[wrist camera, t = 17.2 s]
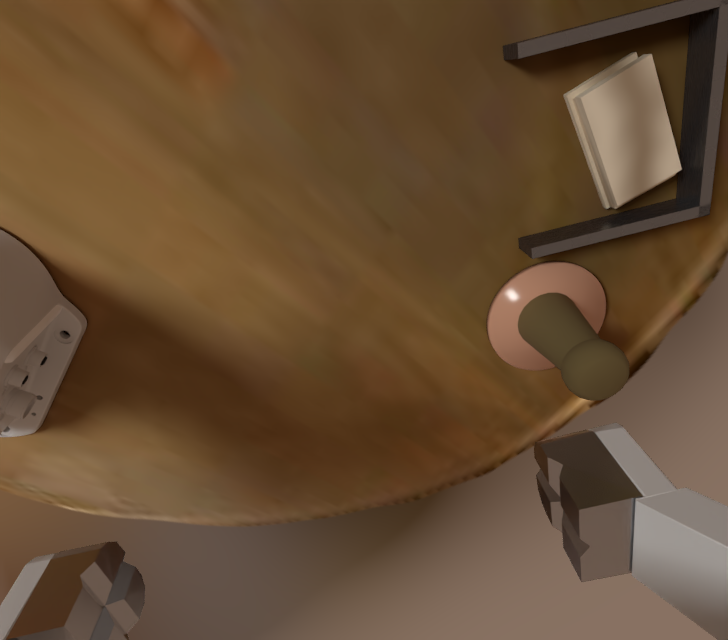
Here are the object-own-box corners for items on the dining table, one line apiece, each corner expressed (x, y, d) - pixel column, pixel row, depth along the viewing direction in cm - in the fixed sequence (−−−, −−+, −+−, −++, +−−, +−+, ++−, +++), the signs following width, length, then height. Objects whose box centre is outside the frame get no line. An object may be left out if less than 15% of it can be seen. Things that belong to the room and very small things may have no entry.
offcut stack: (601, 206, 44) (619, 214, 42) (561, 94, 40) (578, 96, 37) (662, 171, 43) (685, 177, 41) (628, 52, 39) (652, 50, 36)
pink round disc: (561, 378, 53) (564, 382, 52) (466, 348, 50) (468, 352, 49) (624, 283, 48) (629, 286, 47) (524, 243, 45) (527, 246, 44)
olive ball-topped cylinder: (587, 319, 48) (655, 380, 39) (538, 356, 50) (592, 424, 40) (556, 280, 46) (620, 334, 36) (505, 320, 48) (554, 382, 38)
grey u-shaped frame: (519, 248, 45) (532, 258, 42) (502, 45, 37) (517, 43, 35) (686, 206, 45) (709, 214, 42) (704, -7, 37) (735, -14, 34)
